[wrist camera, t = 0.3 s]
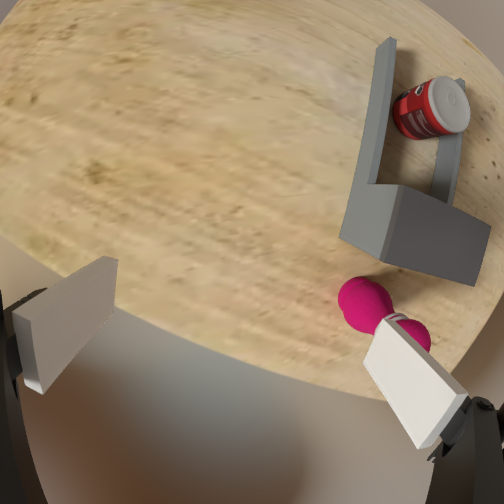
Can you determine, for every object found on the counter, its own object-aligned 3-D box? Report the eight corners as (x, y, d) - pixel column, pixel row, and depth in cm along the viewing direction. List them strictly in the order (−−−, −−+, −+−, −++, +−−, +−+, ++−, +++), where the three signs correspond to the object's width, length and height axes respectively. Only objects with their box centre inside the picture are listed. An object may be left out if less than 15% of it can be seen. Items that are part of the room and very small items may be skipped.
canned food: (424, 97, 36) (465, 82, 25) (430, 143, 38) (474, 136, 27) (387, 90, 36) (425, 69, 25) (393, 138, 37) (435, 128, 27)
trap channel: (376, 48, 34) (420, 10, 20) (448, 87, 35) (500, 69, 21) (338, 237, 40) (384, 262, 26) (418, 259, 42) (474, 286, 28)
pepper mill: (383, 295, 43) (458, 357, 23) (351, 325, 44) (409, 403, 24) (360, 264, 41) (438, 319, 22) (325, 296, 42) (382, 372, 23)
